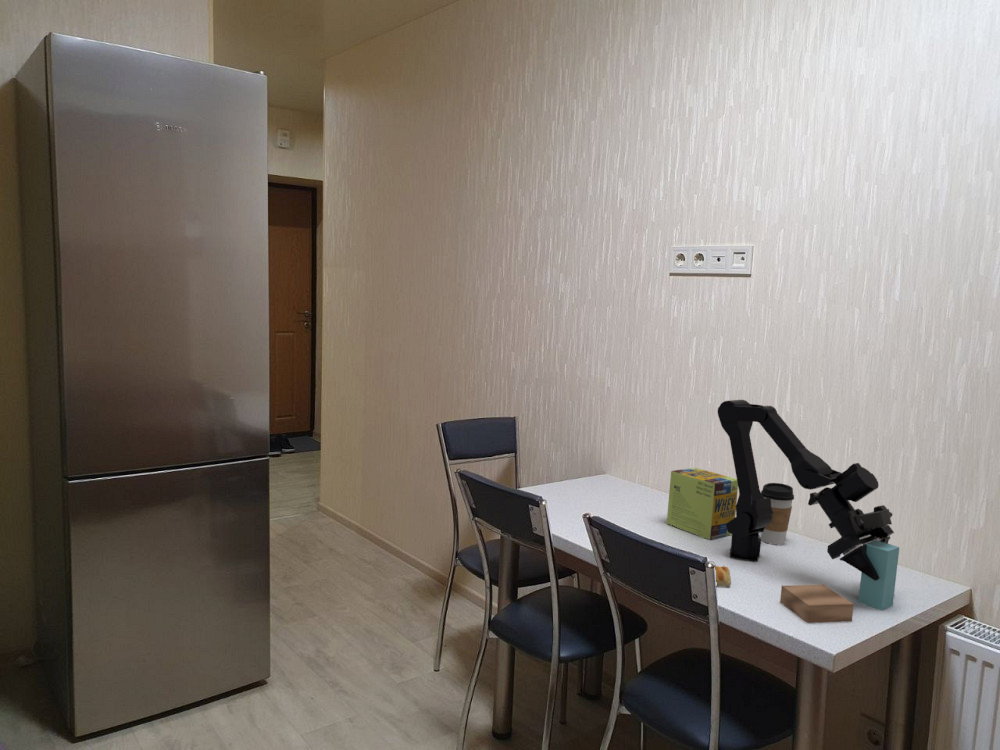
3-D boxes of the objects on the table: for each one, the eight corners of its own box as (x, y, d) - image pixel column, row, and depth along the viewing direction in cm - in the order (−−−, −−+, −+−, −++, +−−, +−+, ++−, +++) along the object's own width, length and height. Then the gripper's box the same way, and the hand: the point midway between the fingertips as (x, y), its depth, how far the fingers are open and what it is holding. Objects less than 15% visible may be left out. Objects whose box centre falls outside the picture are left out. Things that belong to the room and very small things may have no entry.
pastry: (690, 586, 168) (692, 570, 167) (683, 575, 174) (685, 559, 174) (733, 589, 167) (734, 572, 167) (724, 577, 174) (725, 561, 174)
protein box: (710, 540, 199) (715, 483, 198) (665, 524, 212) (670, 470, 210) (735, 534, 206) (739, 479, 204) (690, 519, 218) (694, 466, 216)
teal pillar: (858, 602, 163) (864, 544, 162) (869, 597, 166) (876, 540, 165) (881, 610, 159) (888, 551, 158) (892, 605, 162) (899, 547, 161)
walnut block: (779, 603, 161) (781, 585, 161) (822, 602, 163) (824, 584, 162) (807, 624, 151) (809, 605, 151) (851, 622, 153) (853, 604, 153)
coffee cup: (793, 540, 203) (798, 486, 201) (785, 548, 196) (790, 492, 194) (761, 533, 207) (766, 480, 206) (752, 541, 200) (757, 486, 199)
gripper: (846, 499, 157) (895, 567, 150) (889, 488, 169) (936, 551, 161) (808, 525, 164) (852, 591, 157) (851, 513, 176) (894, 574, 168)
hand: (885, 576), depth 161 cm, fingers open, 7 cm apart
